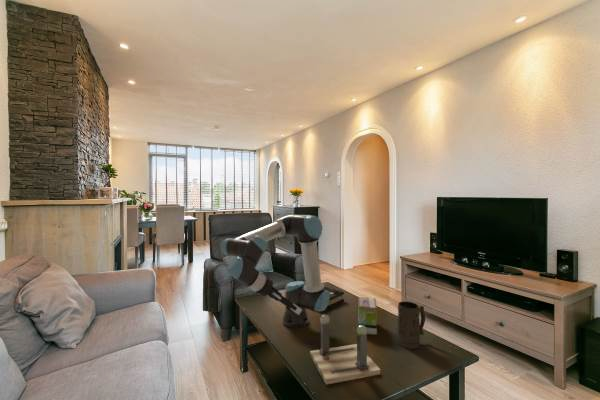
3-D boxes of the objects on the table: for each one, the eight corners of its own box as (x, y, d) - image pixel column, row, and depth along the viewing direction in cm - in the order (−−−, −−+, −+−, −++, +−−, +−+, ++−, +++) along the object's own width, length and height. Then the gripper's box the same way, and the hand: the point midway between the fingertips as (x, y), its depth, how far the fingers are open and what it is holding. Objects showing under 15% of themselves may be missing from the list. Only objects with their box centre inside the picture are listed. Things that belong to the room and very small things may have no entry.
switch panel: (310, 355, 131) (310, 350, 131) (357, 347, 137) (357, 343, 137) (326, 384, 111) (326, 378, 111) (380, 374, 117) (380, 368, 117)
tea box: (377, 335, 150) (377, 307, 150) (358, 333, 152) (358, 306, 152) (375, 322, 165) (375, 297, 164) (358, 321, 167) (358, 296, 166)
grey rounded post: (354, 364, 120) (354, 323, 120) (364, 362, 121) (364, 322, 121) (359, 370, 116) (359, 328, 116) (369, 368, 117) (369, 327, 117)
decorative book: (298, 294, 191) (325, 284, 213) (298, 305, 191) (325, 294, 213) (319, 302, 178) (347, 290, 199) (319, 313, 178) (347, 301, 199)
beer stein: (408, 351, 134) (410, 309, 134) (391, 341, 143) (393, 301, 144) (430, 345, 141) (432, 305, 141) (412, 336, 150) (414, 298, 151)
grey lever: (318, 350, 131) (318, 313, 130) (327, 349, 132) (327, 312, 132) (322, 356, 127) (321, 317, 126) (331, 354, 128) (331, 316, 127)
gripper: (250, 287, 122) (288, 313, 130) (260, 296, 110) (301, 325, 118) (260, 272, 124) (297, 299, 132) (271, 280, 112) (311, 309, 121)
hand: (299, 311), depth 125 cm, fingers closed
